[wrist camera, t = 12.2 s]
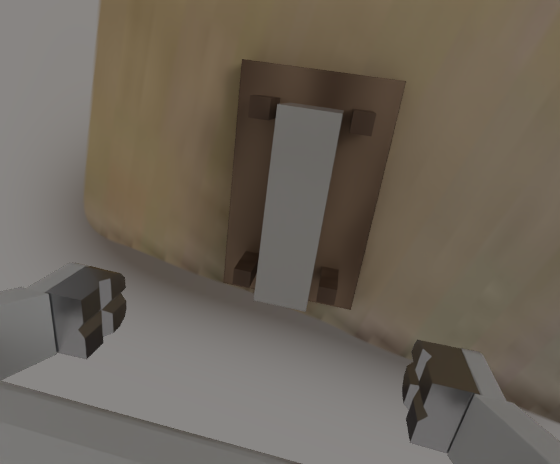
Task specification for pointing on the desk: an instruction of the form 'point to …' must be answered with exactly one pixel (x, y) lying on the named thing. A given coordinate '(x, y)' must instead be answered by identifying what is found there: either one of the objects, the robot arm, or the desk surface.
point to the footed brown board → (345, 177)
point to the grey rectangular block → (296, 202)
